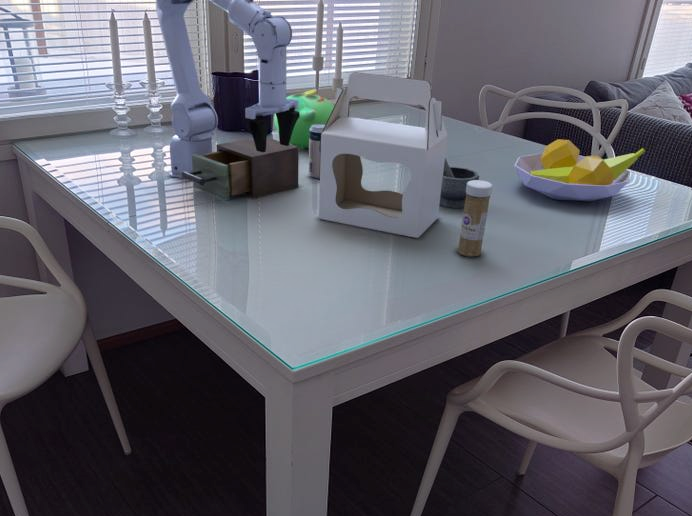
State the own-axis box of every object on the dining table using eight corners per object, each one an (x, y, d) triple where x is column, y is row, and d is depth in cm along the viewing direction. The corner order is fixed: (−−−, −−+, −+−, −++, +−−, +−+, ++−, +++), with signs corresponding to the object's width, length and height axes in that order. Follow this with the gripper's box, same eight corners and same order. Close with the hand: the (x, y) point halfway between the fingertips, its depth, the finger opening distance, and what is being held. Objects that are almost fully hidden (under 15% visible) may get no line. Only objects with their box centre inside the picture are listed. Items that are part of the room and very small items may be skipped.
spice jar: (325, 180, 167) (327, 128, 160) (306, 178, 167) (307, 127, 161) (329, 174, 171) (331, 124, 164) (311, 172, 171) (312, 122, 165)
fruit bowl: (504, 201, 158) (512, 151, 152) (519, 170, 180) (527, 125, 174) (633, 220, 151) (647, 168, 145) (633, 186, 173) (645, 140, 167)
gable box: (438, 218, 147) (456, 78, 132) (419, 239, 136) (435, 88, 122) (342, 200, 154) (349, 65, 139) (317, 218, 144) (321, 74, 129)
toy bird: (348, 146, 194) (351, 91, 186) (314, 159, 182) (316, 100, 174) (295, 135, 202) (296, 82, 194) (260, 147, 190) (259, 90, 182)
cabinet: (253, 198, 153) (252, 157, 148) (218, 184, 160) (216, 144, 156) (298, 186, 162) (298, 147, 157) (263, 173, 169) (262, 135, 164)
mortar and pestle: (477, 200, 158) (485, 146, 152) (471, 212, 151) (479, 157, 144) (429, 193, 161) (434, 141, 155) (420, 205, 153) (426, 151, 147)
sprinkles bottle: (452, 252, 131) (462, 182, 124) (465, 246, 134) (475, 177, 127) (473, 259, 129) (484, 188, 122) (485, 253, 132) (497, 183, 125)
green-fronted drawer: (207, 204, 146) (205, 170, 142) (176, 191, 152) (173, 157, 149) (269, 189, 156) (269, 156, 152) (237, 177, 163) (236, 145, 159)
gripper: (262, 89, 137) (263, 158, 144) (309, 80, 147) (308, 145, 154) (237, 83, 141) (239, 151, 148) (284, 76, 151) (284, 139, 158)
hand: (272, 148), depth 151 cm, fingers open, 7 cm apart
